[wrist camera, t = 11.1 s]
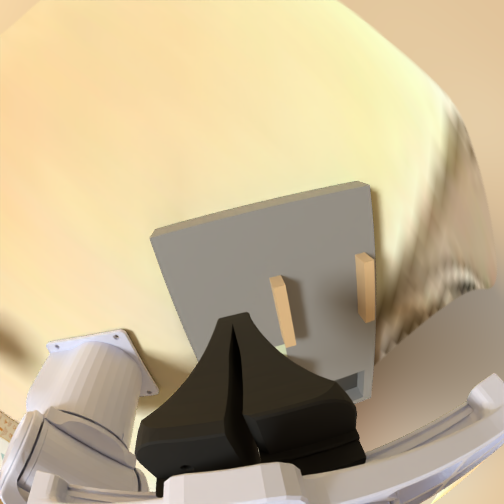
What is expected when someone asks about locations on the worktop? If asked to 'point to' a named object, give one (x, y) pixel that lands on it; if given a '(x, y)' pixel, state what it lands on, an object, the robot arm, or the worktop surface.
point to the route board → (284, 278)
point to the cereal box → (6, 434)
